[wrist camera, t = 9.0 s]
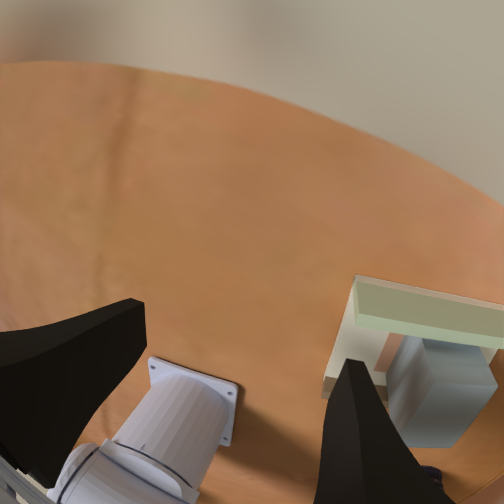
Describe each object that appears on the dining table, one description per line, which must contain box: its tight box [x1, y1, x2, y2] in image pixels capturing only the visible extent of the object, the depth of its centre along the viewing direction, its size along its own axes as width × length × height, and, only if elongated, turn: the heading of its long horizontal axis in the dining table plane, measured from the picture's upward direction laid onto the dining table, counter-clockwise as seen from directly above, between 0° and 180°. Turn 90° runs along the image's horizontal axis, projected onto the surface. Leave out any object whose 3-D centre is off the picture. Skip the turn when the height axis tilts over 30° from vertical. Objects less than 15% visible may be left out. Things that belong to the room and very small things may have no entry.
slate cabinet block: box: [386, 335, 498, 448], centre depth 14 cm, size 5×4×6 cm
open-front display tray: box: [321, 274, 504, 408], centre depth 16 cm, size 8×12×4 cm, turn 83°
